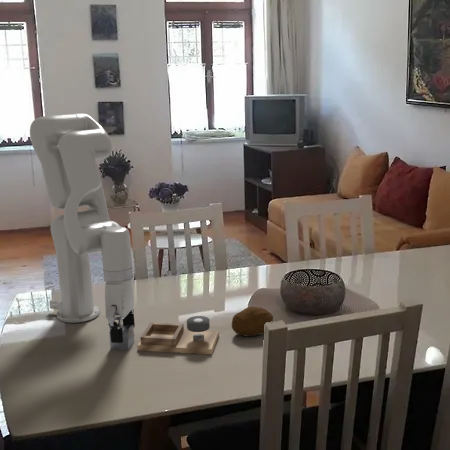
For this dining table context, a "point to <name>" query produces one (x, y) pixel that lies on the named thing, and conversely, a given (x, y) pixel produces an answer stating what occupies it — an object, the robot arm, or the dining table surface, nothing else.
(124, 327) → the grey stone cube
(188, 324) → the wheel
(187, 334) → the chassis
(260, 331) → the potato
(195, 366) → the dining table surface
